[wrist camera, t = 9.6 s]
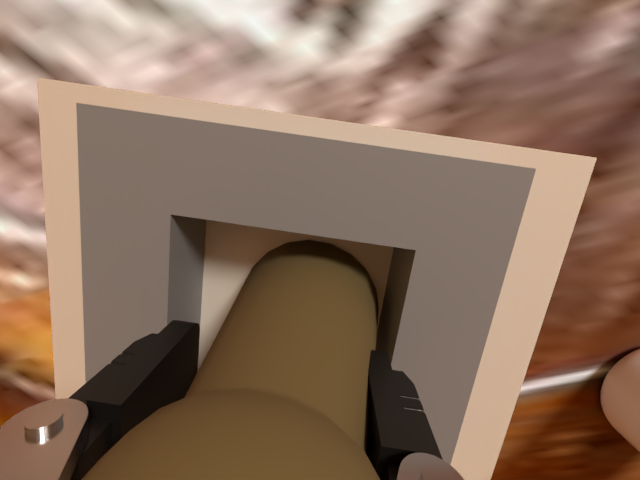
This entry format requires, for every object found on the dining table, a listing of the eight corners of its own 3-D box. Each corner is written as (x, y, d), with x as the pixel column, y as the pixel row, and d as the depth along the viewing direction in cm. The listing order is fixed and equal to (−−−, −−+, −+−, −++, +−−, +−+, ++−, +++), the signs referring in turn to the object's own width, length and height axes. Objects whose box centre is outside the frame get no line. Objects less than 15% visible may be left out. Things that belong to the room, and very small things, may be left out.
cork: (295, 389, 15) (147, 996, 4) (215, 289, 14) (-246, 699, 3) (406, 325, 13) (636, 952, 3) (324, 211, 13) (183, 447, 2)
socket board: (573, 159, 13) (683, 153, 9) (477, 462, 17) (525, 558, 13) (63, 85, 13) (-58, 47, 9) (76, 402, 17) (-7, 476, 13)
